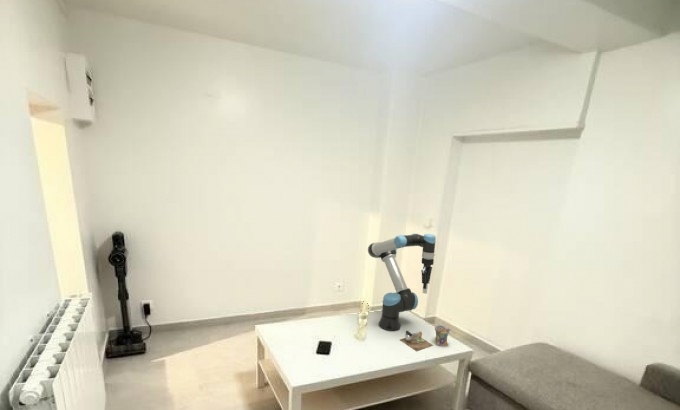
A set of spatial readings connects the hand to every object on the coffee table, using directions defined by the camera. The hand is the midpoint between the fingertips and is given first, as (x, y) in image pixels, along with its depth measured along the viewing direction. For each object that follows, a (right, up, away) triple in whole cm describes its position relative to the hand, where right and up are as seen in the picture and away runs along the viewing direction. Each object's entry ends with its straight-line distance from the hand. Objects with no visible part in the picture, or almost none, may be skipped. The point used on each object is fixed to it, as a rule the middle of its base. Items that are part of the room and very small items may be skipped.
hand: (424, 292), depth 209 cm
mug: (+8, -31, -6) cm, 32 cm away
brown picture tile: (-8, -30, -9) cm, 32 cm away
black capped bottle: (-9, -28, -6) cm, 30 cm away
